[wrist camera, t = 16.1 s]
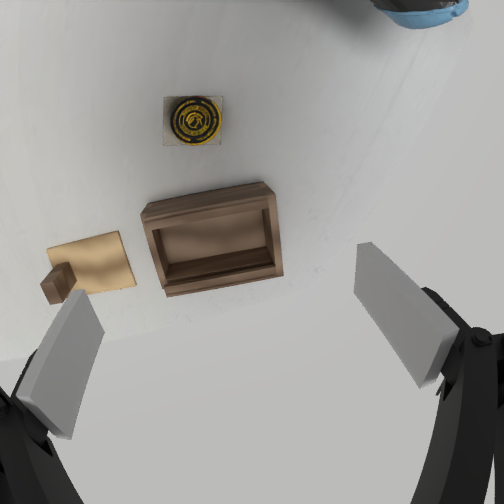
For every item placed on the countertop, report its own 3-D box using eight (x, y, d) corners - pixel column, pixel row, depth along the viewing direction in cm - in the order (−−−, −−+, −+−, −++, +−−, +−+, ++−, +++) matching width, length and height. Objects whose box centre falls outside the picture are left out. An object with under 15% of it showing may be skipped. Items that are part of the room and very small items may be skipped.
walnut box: (148, 203, 42) (136, 220, 35) (263, 181, 43) (275, 194, 36) (166, 271, 47) (160, 298, 40) (272, 251, 49) (283, 275, 41)
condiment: (220, 144, 40) (225, 151, 29) (163, 145, 39) (146, 153, 28) (222, 96, 37) (228, 85, 26) (164, 97, 36) (147, 87, 25)
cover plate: (48, 247, 42) (27, 268, 35) (119, 229, 43) (104, 250, 36) (68, 295, 47) (52, 320, 40) (137, 283, 48) (127, 309, 41)
